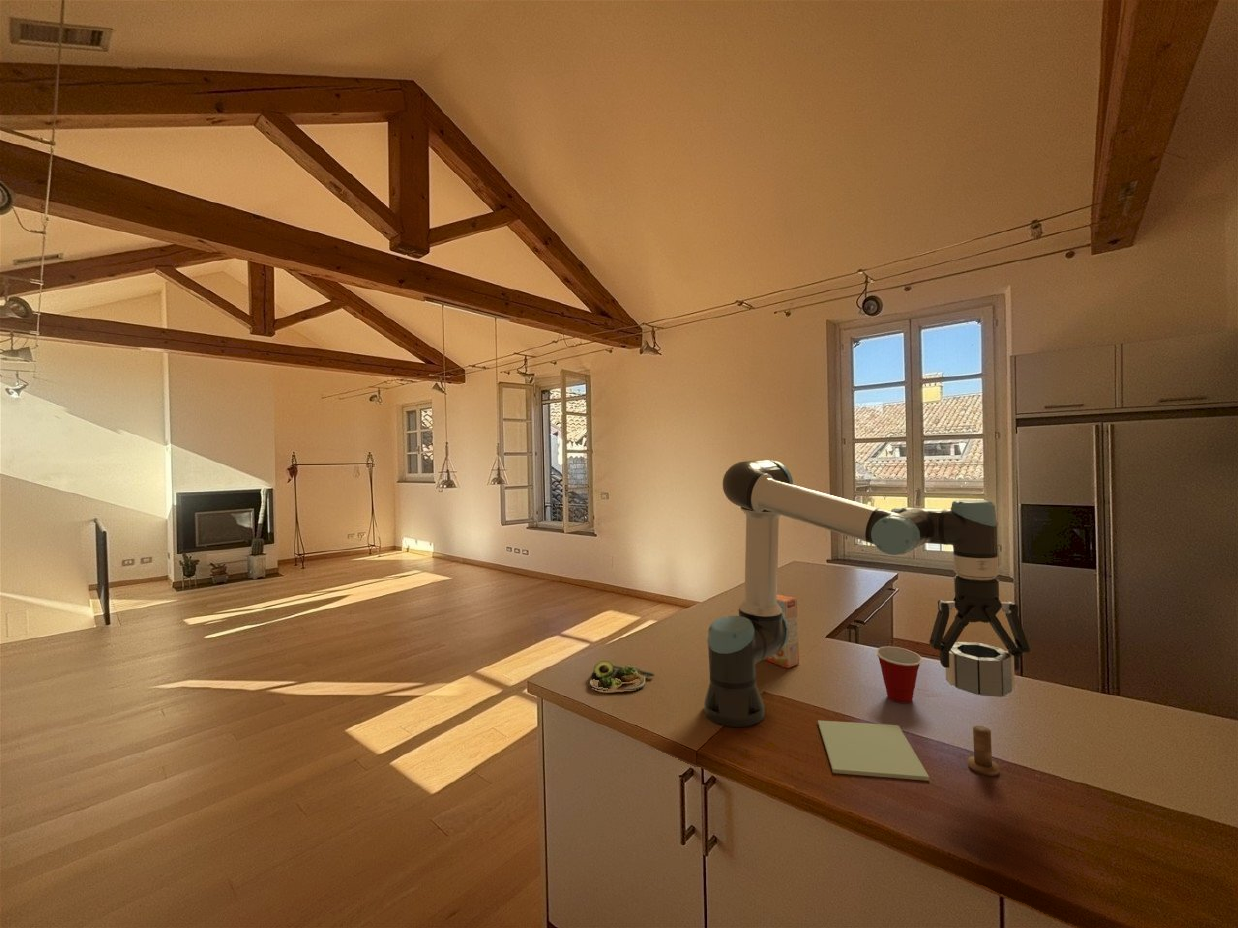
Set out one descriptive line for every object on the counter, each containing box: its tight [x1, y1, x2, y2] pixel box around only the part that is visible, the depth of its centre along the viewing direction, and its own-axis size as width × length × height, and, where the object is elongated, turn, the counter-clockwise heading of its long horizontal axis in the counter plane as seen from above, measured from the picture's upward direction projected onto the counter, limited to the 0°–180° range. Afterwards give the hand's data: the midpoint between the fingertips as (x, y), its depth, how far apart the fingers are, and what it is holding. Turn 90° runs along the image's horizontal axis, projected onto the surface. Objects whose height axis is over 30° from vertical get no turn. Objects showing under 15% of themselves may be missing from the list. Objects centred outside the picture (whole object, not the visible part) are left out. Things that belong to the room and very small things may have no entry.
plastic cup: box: [875, 646, 924, 704], centre depth 137 cm, size 11×11×12 cm
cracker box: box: [764, 593, 800, 669], centre depth 166 cm, size 14×6×21 cm, turn 33°
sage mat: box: [817, 720, 930, 782], centre depth 115 cm, size 18×20×1 cm
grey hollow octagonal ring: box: [950, 641, 1013, 698], centre depth 107 cm, size 10×10×7 cm
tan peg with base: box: [967, 725, 1000, 777], centre depth 107 cm, size 5×5×8 cm
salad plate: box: [588, 660, 655, 691], centre depth 157 cm, size 19×18×5 cm
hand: (979, 683), depth 107 cm, fingers closed on grey hollow octagonal ring, 10 cm apart
